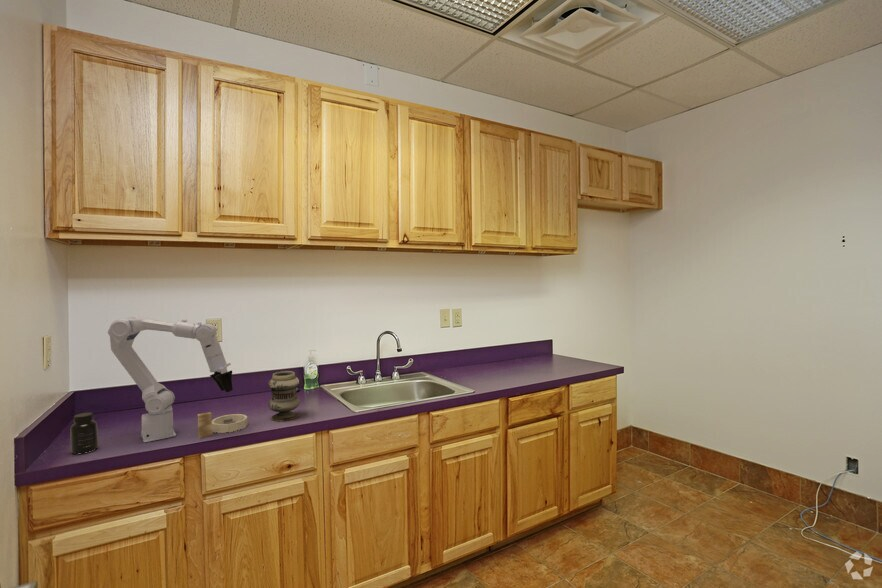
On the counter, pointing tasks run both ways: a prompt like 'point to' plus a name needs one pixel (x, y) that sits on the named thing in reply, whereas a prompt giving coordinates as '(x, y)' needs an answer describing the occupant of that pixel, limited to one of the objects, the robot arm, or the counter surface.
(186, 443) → the counter surface
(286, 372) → the apothecary jar
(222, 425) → the beige round dish
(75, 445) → the supplement bottle
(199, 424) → the brown wooden block
